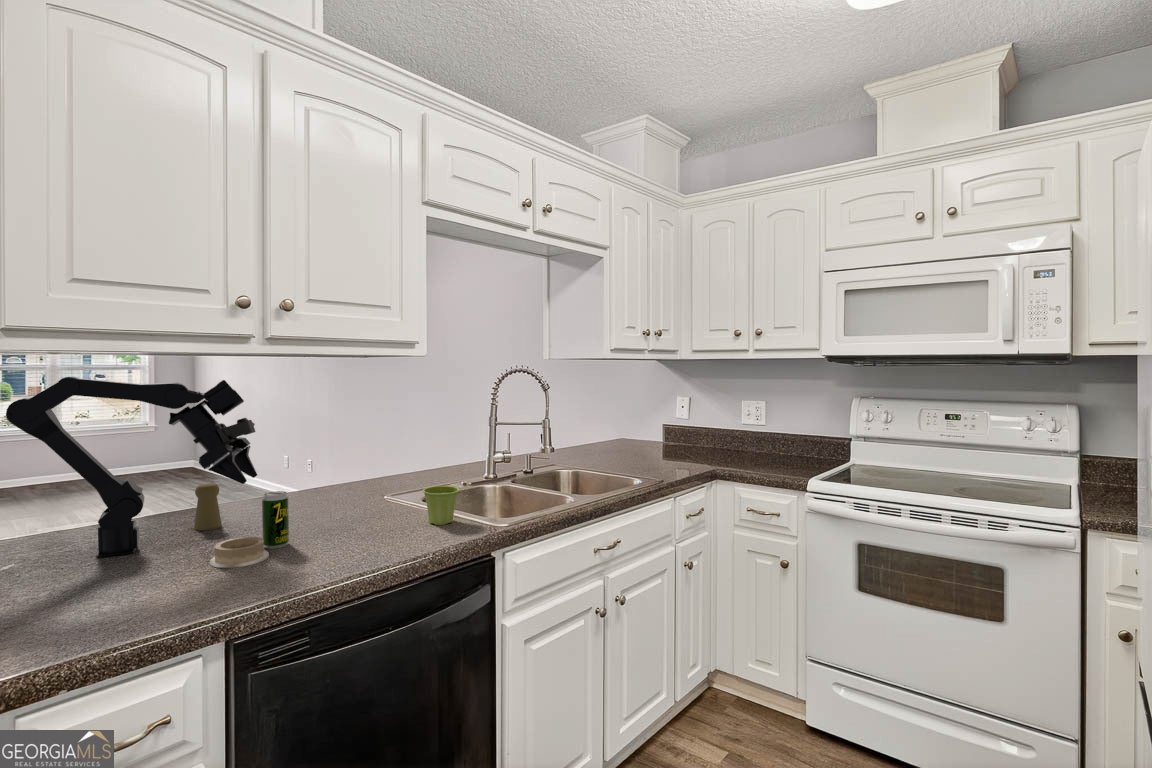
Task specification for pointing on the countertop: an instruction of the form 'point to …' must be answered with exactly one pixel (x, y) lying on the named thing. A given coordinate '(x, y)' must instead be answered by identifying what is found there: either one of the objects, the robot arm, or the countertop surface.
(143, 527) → the countertop surface
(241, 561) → the can holder
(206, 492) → the cork
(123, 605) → the countertop surface
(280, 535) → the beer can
